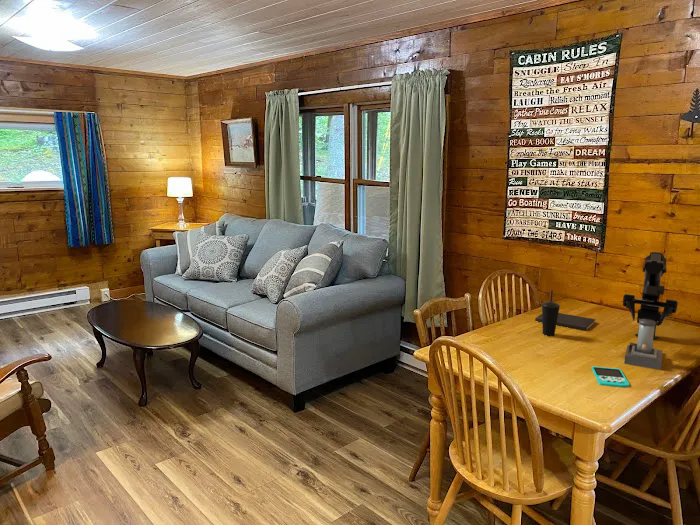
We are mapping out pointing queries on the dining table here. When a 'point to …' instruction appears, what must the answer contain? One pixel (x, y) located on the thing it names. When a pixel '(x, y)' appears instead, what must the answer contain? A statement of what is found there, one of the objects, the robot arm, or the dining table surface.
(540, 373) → the dining table surface
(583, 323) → the hardcover book
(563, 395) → the dining table surface
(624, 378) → the handheld game console
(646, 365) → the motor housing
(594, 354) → the dining table surface
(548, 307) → the drinking cup
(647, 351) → the grey capped cylinder
